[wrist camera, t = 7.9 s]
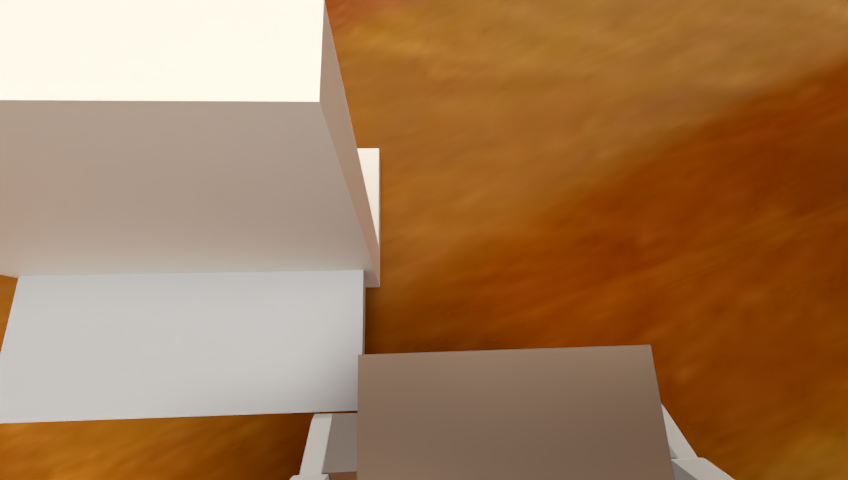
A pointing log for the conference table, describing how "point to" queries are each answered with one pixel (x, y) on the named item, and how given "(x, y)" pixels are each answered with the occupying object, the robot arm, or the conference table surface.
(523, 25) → the conference table surface
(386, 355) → the cabinet
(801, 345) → the conference table surface
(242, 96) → the board
